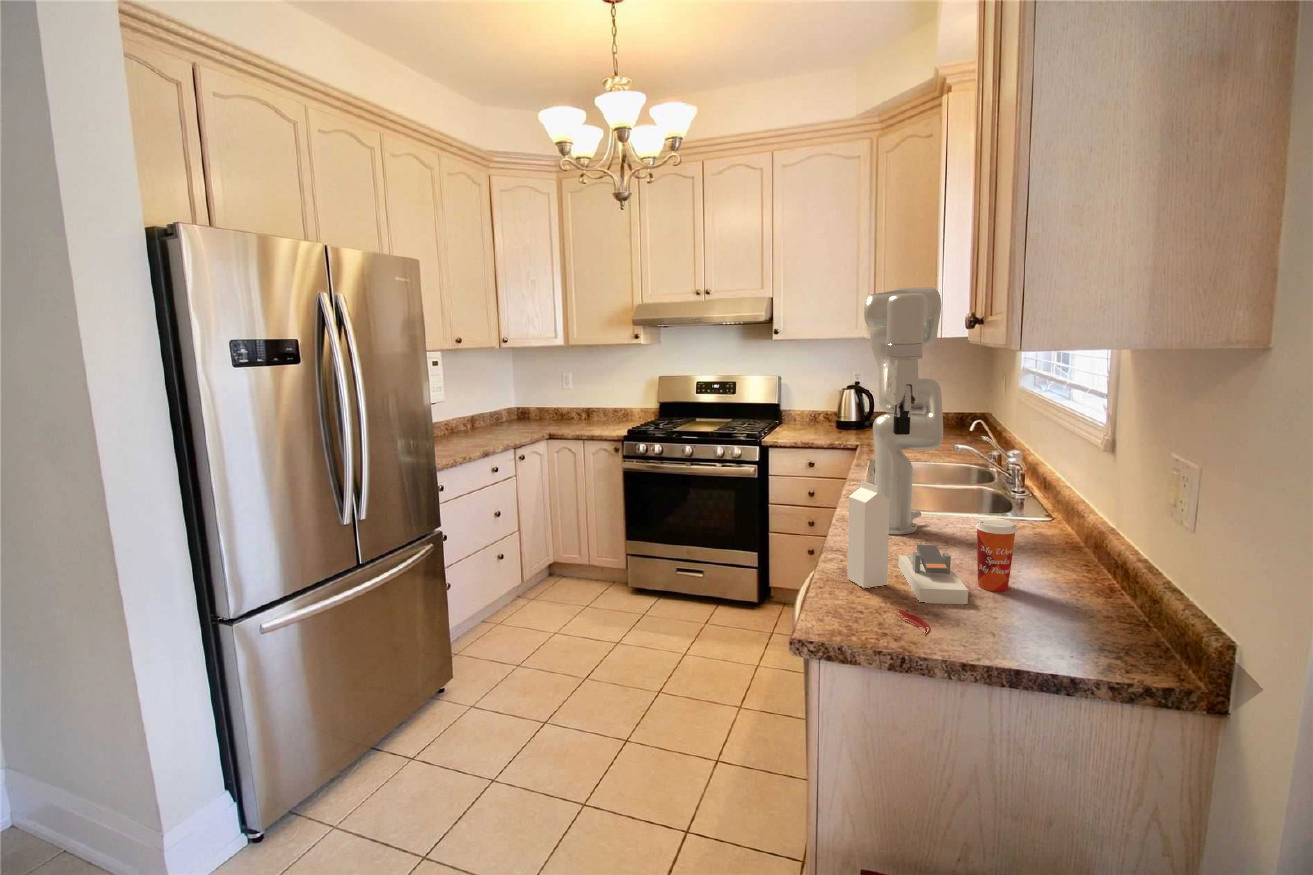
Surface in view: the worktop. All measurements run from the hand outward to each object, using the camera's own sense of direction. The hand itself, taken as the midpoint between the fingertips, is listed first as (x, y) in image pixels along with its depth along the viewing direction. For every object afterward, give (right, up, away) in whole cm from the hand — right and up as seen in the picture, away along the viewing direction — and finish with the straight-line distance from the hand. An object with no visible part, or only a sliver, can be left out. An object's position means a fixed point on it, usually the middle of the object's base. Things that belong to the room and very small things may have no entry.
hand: (901, 433), depth 147 cm
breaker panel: (+3, -32, -8) cm, 33 cm away
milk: (-10, -32, -6) cm, 34 cm away
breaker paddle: (+3, -26, -8) cm, 28 cm away
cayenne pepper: (-7, -36, -25) cm, 44 cm away
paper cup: (+16, -32, -10) cm, 37 cm away
